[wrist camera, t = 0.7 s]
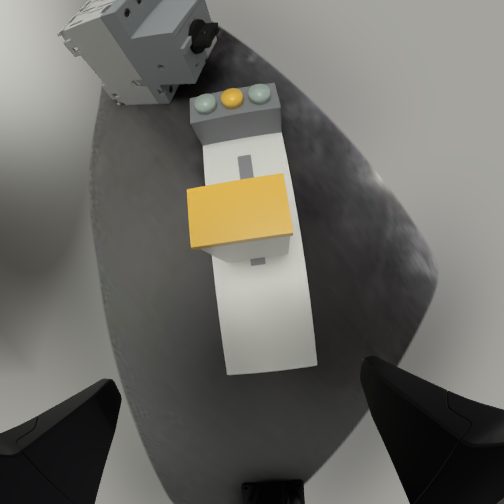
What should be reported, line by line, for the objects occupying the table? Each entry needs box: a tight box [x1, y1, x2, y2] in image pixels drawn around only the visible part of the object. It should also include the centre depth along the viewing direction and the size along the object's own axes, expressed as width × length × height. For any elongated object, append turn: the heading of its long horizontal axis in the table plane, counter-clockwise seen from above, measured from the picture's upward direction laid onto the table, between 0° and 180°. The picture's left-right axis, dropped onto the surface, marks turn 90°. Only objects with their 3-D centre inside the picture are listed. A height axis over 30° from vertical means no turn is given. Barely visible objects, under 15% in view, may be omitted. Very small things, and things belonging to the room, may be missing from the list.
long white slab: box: [190, 83, 317, 375], centre depth 22 cm, size 24×8×6 cm, turn 7°
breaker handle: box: [187, 173, 293, 262], centre depth 18 cm, size 3×5×9 cm, turn 97°
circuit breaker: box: [58, 0, 220, 106], centre depth 21 cm, size 8×14×15 cm, turn 77°
